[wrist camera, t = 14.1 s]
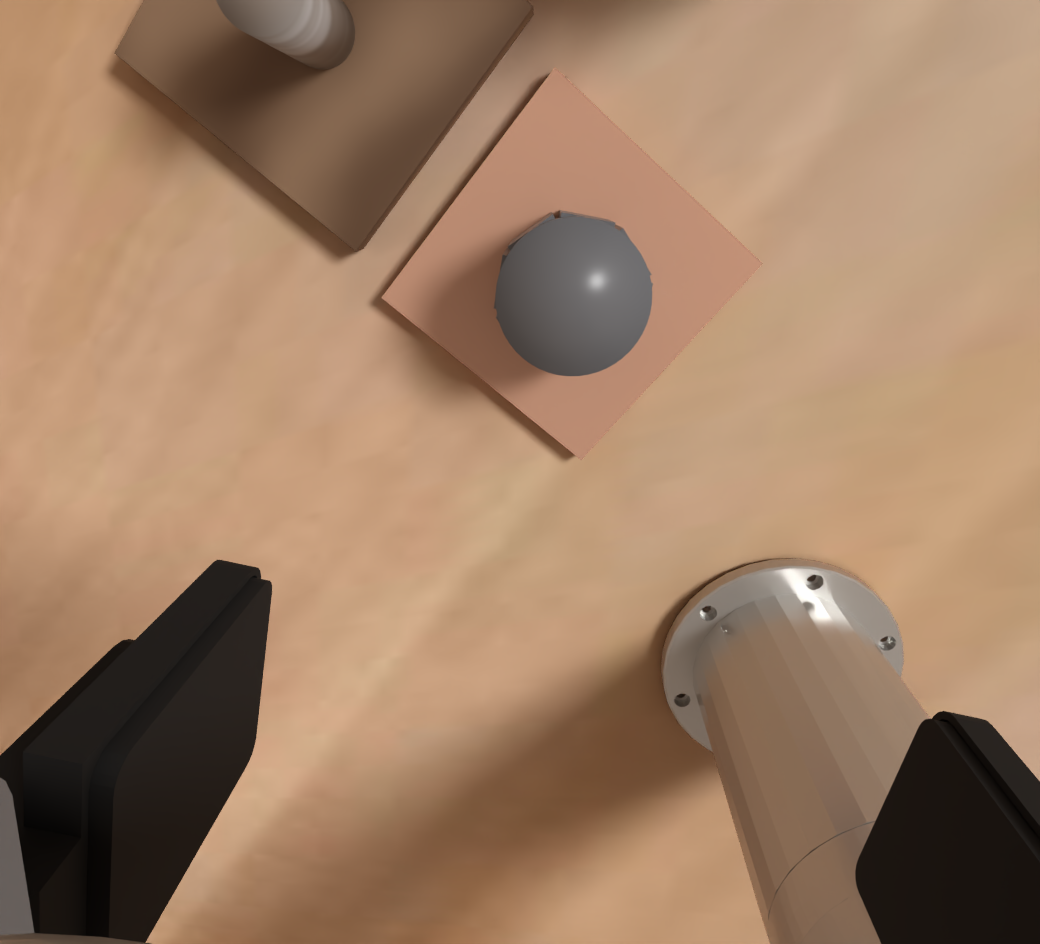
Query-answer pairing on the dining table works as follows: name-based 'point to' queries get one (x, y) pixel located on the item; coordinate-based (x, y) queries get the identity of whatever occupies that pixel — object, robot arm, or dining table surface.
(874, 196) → the dining table surface
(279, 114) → the post base
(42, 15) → the dining table surface
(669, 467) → the dining table surface
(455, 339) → the tile
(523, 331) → the cap
